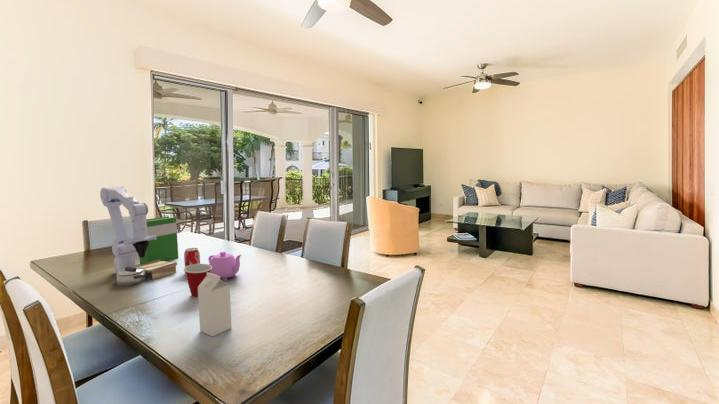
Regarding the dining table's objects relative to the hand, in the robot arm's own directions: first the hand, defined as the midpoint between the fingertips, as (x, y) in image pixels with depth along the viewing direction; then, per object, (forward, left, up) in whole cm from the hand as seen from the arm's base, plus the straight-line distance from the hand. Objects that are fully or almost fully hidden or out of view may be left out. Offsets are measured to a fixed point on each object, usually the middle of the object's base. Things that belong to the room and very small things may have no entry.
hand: (141, 257), depth 167 cm
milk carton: (+73, -24, -11) cm, 78 cm away
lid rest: (0, +7, -10) cm, 12 cm away
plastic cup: (+42, -4, -11) cm, 44 cm away
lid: (0, -6, -6) cm, 8 cm away
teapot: (+35, +17, -11) cm, 41 cm away
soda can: (+14, +16, -11) cm, 24 cm away
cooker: (0, -6, -10) cm, 12 cm away
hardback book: (-21, +23, -11) cm, 33 cm away
